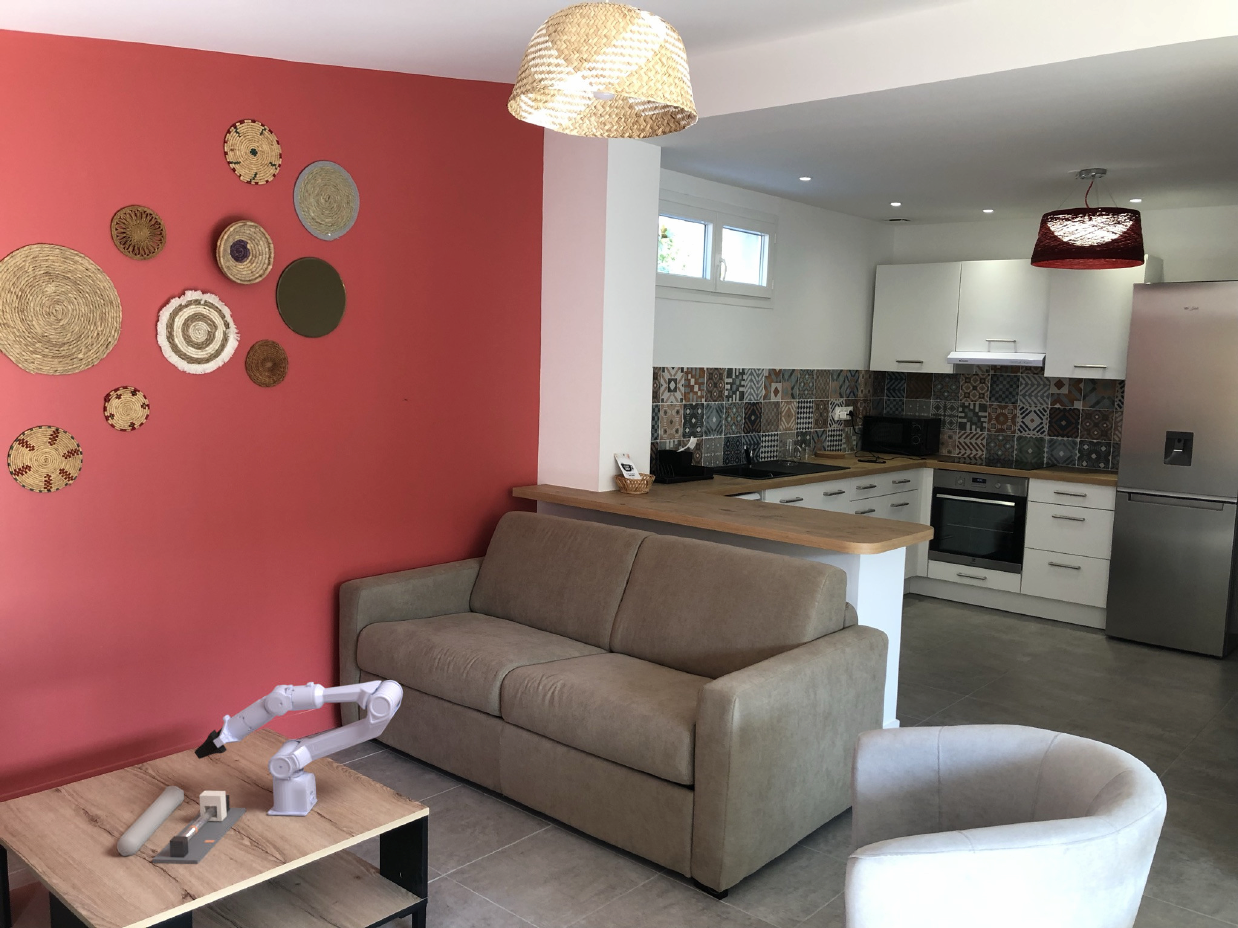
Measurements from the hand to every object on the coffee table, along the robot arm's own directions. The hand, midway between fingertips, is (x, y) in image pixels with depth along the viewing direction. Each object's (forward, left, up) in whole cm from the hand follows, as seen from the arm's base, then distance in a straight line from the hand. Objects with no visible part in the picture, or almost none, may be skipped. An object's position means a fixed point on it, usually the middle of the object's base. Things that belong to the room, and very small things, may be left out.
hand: (204, 748), depth 234 cm
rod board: (-5, +13, -15) cm, 21 cm away
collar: (-5, +7, -14) cm, 16 cm away
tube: (+8, +11, -15) cm, 21 cm away
